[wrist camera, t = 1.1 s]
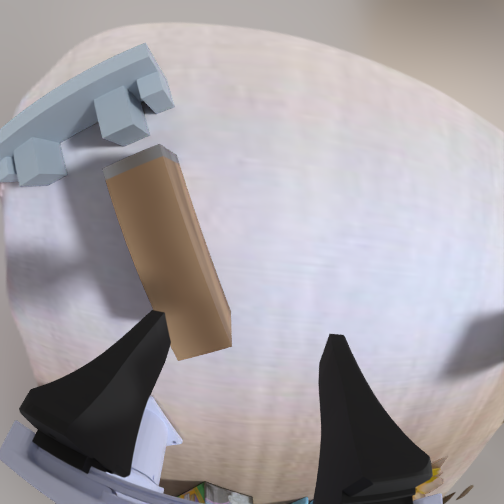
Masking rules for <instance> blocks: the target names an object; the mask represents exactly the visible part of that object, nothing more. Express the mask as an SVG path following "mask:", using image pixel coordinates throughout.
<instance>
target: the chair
mask: <svg viewBox="0 0 504 504" xmlns="http://www.w3.org/2000/svg"><path fill="white" fill-rule="evenodd" d="M291 504H308V497H305V498H302V499H300V500H298V501H296V502H293V503H291ZM309 504H313V501H311V502H310V503H309Z"/></svg>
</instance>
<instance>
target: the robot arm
mask: <svg viewBox="0 0 504 504" xmlns="http://www.w3.org/2000/svg"><path fill="white" fill-rule="evenodd" d="M170 344H171V340H170V336H169V331H168V326H167V321H166V316H165V312H160V311H155V310H152V311H151V312H150V313H148V314H147V315H146V316H145V317H144V318H143V319H142V320H141V321H140V322H139V323H138V324H136V325H135V326H134V327H133V328H132V329H131V330H130V331H129V332H128V333H126V334H125V335H124V336H123V337H122V338H121V339H120V340H118V341H117V342H116V343H115V344H114V345H112V346H111V347H110V348H109V349H107V350H106V351H105V352H104V353H102V354H101V355H99V356H98V357H97V358H95V359H94V360H92V361H91V362H89V363H88V364H86V365H85V366H83V367H81V368H79V369H78V370H76V371H74V372H72V373H70V374H68V375H66V376H64V377H62V378H60V379H58V380H56V381H53V382H51V383H48V384H45V385H42V386H40V387H37V388H33V389H31V390H30V391H29V393H28V395H27V396H26V398H25V400H24V401H23V403H22V405H21V407H20V408H19V410H20V412H21V414H22V415H23V416H24V417H25V418H26V419H27V420H28V421H29V422H30V423H31V424H32V425H33V426H34V427H35V428H37V429H38V431H37V432H36V434H35V433H34V432H33V431H31V430H30V429H28V428H27V427H25V426H24V425H23V424H21V423H20V422H18V421H17V420H16V421H15V422H14V423H13V425H12V427H11V429H10V431H9V433H8V435H7V437H6V438H5V441H4V442H3V444H2V446H1V448H0V460H1V461H2V462H4V463H5V464H6V465H7V466H8V467H10V468H11V469H12V470H13V471H14V472H16V473H17V474H18V475H19V476H21V477H22V478H23V479H24V480H26V481H27V482H28V483H29V484H31V485H32V486H33V487H35V488H36V489H37V490H39V491H40V492H41V493H43V494H44V495H46V496H47V497H48V498H50V499H51V500H53V501H54V502H55V504H203V503H198V502H194V501H190V500H185V499H181V498H178V497H174V496H170V495H167V494H163V492H164V488H162V487H159V482H160V476H161V471H162V465H163V460H164V454H165V449H166V446H169V445H177V444H181V443H182V438H181V437H180V436H179V434H178V433H177V432H176V430H175V429H174V428H173V426H172V425H171V423H170V422H169V420H168V419H167V418H166V416H165V415H164V413H163V412H162V410H161V409H160V407H159V406H158V404H157V403H156V401H155V400H154V398H153V397H152V396H150V395H151V392H152V390H153V388H154V386H155V383H156V381H157V379H158V377H159V374H160V372H161V370H162V368H163V365H164V363H165V361H166V357H167V354H168V351H169V347H170ZM319 397H320V413H321V445H320V457H319V466H318V474H317V482H316V488H315V494H314V499H313V504H443V503H442V494H441V493H439V494H435V495H432V496H428V497H424V498H420V499H417V500H414V501H413V495H415V494H416V489H415V487H417V486H419V485H421V484H423V483H425V482H426V481H428V480H430V479H431V477H432V476H433V473H432V465H431V461H430V457H429V456H428V455H427V454H426V453H425V452H424V451H422V450H421V449H420V448H419V447H418V446H417V445H415V444H414V443H413V442H412V441H411V440H410V439H409V438H408V437H407V436H406V435H405V434H404V432H403V431H402V430H401V429H400V428H399V427H398V426H397V424H396V423H395V422H394V421H393V420H392V419H391V417H390V416H389V415H388V413H387V412H386V411H385V409H384V408H383V407H382V405H381V404H380V402H379V401H378V399H377V398H376V396H375V395H374V393H373V391H372V390H371V388H370V386H369V385H368V383H367V381H366V380H365V378H364V376H363V374H362V372H361V370H360V368H359V366H358V364H357V362H356V360H355V358H354V356H353V354H352V352H351V350H350V347H349V345H348V343H347V341H346V338H345V336H344V335H338V334H329V337H328V340H327V343H326V346H325V349H324V352H323V354H322V357H321V360H320V363H319Z"/></svg>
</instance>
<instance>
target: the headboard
mask: <svg viewBox="0 0 504 504" xmlns="http://www.w3.org/2000/svg"><path fill="white" fill-rule="evenodd" d="M143 101H144V102H145V103H146V104H147V105H148V106H149V107H150V108H151V109H152V110H153V111H154V112H155V113H156V114H157V113H160V112H163V111H165V110H168V109H171V108H173V107H175V106H174V103H173V100H172V96H171V93H170V89H169V86H168V83H167V79H166V78H165V76H164V74H163V72H162V71H161V69H160V67H159V65H158V64H157V62H156V60H155V58H154V57H153V55H152V53H151V51H150V50H149V48H148V46H147V44H146V43H143V44H141V45H139V46H136V47H134V48H131V49H129V50H127V51H125V52H122V53H120V54H118V55H116V56H114V57H111V58H109V59H107V60H105V61H103V62H101V63H99V64H97V65H95V66H93V67H92V68H90V69H88V70H86V71H84V72H82V73H81V74H79V75H77V76H75V77H73V78H72V79H70V80H68V81H67V82H65V83H63V84H62V85H60V86H59V87H57V88H55V89H54V90H52V91H51V92H49V93H48V94H46V95H45V96H43V97H42V98H40V99H39V100H37V101H36V102H34V103H33V104H32V105H30V106H29V107H27V108H26V109H25V110H23V111H22V112H21V113H19V114H18V115H17V116H16V117H14V118H13V119H12V120H11V121H10V122H8V123H7V124H6V125H4V126H3V127H2V128H1V129H0V182H19V186H20V187H23V186H48V185H50V184H52V183H54V182H55V181H57V180H59V179H61V178H62V177H64V176H66V175H67V171H66V167H65V162H64V158H63V154H62V149H61V144H60V143H61V142H63V141H64V140H66V139H68V138H70V137H71V136H73V135H75V134H77V133H78V132H80V131H82V130H84V129H86V128H88V127H90V126H91V125H93V124H95V123H97V122H99V126H100V130H101V135H102V138H103V139H106V140H108V141H111V142H114V143H116V144H119V145H121V146H126V145H129V144H131V143H133V142H135V141H138V140H140V139H143V138H145V137H147V136H150V133H149V130H148V126H147V123H146V119H145V116H144V112H143V108H142V105H141V102H143Z"/></svg>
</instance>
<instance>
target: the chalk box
mask: <svg viewBox="0 0 504 504" xmlns="http://www.w3.org/2000/svg"><path fill="white" fill-rule="evenodd" d="M178 498H181V499H185V500H190V501H194V502H198V503H203V504H253V498H252V497H250V496H246V495H243V494H240V493H236V492H233V491H230V490H227V489H224V488H221V487H218V486H216V485H213V484H210V483H208V482H203V483H202V484H200V485H198V486H197V487H195V488H193V489H191V490H189V491H187V492H186V493H184V494H182V495H180V496H178Z"/></svg>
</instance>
